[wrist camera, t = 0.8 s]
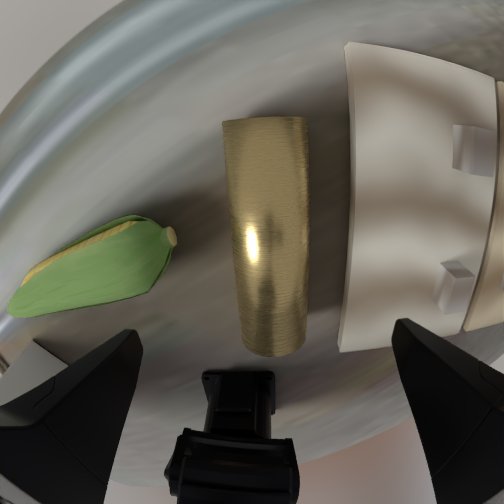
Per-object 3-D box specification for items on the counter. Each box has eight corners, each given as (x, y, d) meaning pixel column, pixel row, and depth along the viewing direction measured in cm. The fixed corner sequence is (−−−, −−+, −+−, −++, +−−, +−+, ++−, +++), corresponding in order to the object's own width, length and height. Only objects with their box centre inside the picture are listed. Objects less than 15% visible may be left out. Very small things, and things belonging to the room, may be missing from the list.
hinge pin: (298, 313, 22) (312, 352, 18) (240, 319, 22) (243, 360, 18) (296, 119, 16) (317, 116, 12) (222, 123, 16) (220, 120, 12)
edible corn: (186, 296, 16) (143, 238, 14) (18, 335, 20) (-14, 304, 17) (195, 241, 20) (165, 188, 18) (36, 296, 24) (9, 266, 21)
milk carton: (32, 369, 27) (-31, 471, 10) (31, 337, 25) (-50, 455, 8) (75, 397, 29) (22, 511, 11) (80, 370, 26) (11, 505, 9)
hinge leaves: (527, 307, 21) (543, 324, 18) (337, 342, 23) (346, 373, 19) (558, 114, 12) (582, 119, 9) (344, 46, 14) (361, 30, 11)
